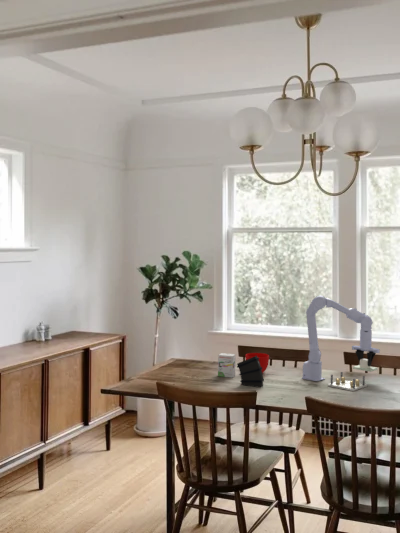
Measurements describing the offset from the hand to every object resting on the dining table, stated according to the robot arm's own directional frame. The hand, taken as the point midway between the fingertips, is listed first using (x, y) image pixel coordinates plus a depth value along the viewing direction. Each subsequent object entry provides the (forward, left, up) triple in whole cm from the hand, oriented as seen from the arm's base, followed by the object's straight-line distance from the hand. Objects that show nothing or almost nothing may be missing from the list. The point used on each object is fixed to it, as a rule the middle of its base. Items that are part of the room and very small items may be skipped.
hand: (365, 365), depth 294 cm
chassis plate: (-2, -14, -9) cm, 17 cm away
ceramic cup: (-53, -21, -9) cm, 58 cm away
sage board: (0, 0, -2) cm, 2 cm away
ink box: (-59, -41, -9) cm, 72 cm away
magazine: (-37, -48, -9) cm, 61 cm away
